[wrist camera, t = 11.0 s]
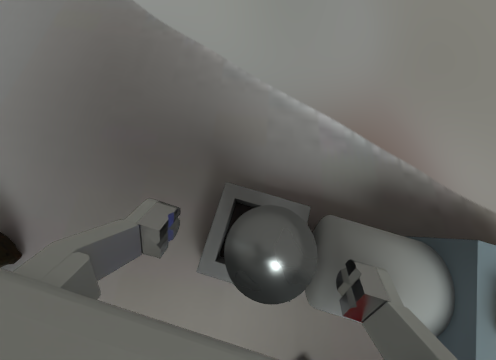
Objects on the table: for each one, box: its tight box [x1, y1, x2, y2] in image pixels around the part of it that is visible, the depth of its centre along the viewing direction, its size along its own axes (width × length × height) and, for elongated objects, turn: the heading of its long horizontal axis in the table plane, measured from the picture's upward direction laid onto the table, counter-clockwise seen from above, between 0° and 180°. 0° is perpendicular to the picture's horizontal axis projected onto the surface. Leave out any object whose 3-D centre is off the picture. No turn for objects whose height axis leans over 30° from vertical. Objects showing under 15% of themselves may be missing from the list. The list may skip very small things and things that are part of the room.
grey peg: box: [224, 205, 318, 304], centre depth 11 cm, size 4×4×11 cm
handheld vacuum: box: [196, 182, 496, 360], centre depth 12 cm, size 25×7×8 cm, turn 73°
